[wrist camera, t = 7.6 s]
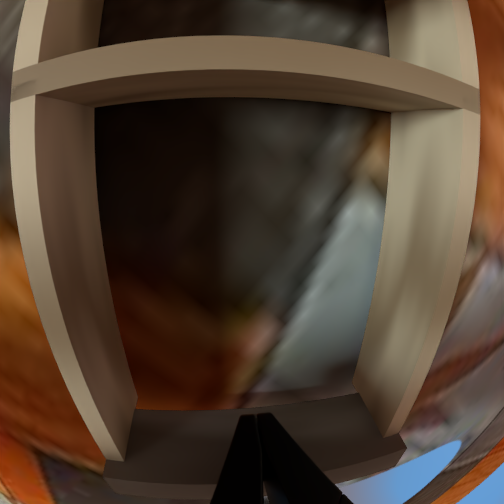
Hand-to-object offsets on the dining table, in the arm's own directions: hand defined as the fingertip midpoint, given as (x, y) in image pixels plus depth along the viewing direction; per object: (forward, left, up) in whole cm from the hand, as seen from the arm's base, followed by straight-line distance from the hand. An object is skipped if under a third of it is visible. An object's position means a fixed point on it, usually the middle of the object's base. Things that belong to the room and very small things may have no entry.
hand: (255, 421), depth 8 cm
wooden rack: (+8, 0, -2) cm, 8 cm away
